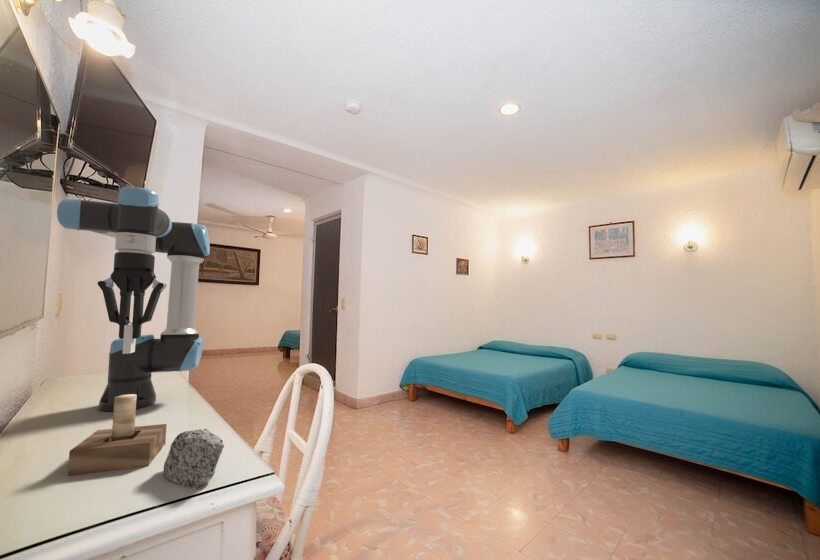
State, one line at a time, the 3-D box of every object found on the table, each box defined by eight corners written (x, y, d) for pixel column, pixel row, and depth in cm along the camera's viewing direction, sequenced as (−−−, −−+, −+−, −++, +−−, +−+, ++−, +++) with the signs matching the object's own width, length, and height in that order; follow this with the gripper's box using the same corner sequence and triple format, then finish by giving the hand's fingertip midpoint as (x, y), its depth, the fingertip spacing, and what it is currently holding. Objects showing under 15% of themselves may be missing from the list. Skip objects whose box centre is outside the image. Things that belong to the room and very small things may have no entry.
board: (96, 451, 82) (97, 430, 83) (165, 443, 87) (166, 423, 88) (67, 475, 71) (69, 451, 72) (148, 465, 76) (150, 442, 77)
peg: (114, 455, 81) (118, 394, 81) (135, 453, 82) (139, 393, 83) (106, 463, 77) (110, 399, 78) (128, 460, 78) (133, 398, 79)
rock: (228, 483, 69) (229, 430, 71) (180, 498, 63) (182, 440, 65) (203, 469, 80) (204, 424, 82) (159, 481, 74) (162, 432, 76)
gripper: (93, 249, 76) (85, 356, 75) (162, 253, 81) (156, 354, 80) (108, 252, 83) (101, 351, 82) (172, 256, 88) (166, 349, 87)
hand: (128, 352), depth 81 cm, fingers closed
